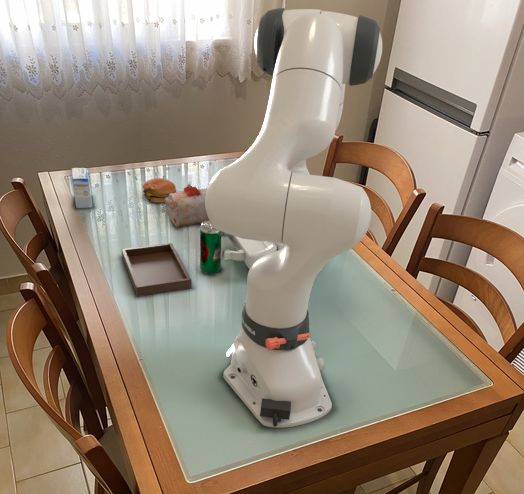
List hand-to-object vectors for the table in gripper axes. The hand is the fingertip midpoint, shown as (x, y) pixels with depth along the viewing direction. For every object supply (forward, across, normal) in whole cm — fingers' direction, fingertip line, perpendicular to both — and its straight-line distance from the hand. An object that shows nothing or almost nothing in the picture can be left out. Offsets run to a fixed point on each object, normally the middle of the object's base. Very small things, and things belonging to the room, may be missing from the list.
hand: (217, 245), depth 127 cm
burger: (+4, -43, +7) cm, 44 cm away
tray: (+15, -2, +6) cm, 16 cm away
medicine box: (+26, -44, +7) cm, 51 cm away
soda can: (+2, 0, +7) cm, 7 cm away
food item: (-1, -26, +7) cm, 27 cm away
